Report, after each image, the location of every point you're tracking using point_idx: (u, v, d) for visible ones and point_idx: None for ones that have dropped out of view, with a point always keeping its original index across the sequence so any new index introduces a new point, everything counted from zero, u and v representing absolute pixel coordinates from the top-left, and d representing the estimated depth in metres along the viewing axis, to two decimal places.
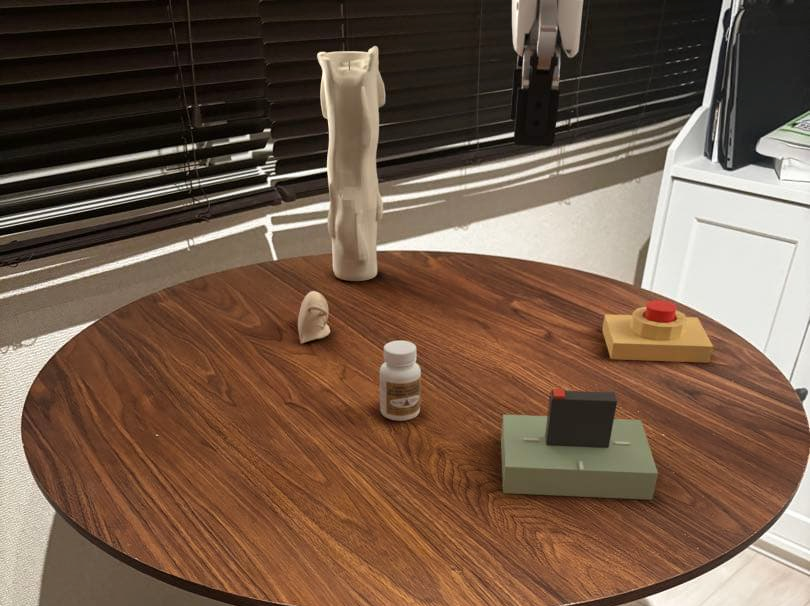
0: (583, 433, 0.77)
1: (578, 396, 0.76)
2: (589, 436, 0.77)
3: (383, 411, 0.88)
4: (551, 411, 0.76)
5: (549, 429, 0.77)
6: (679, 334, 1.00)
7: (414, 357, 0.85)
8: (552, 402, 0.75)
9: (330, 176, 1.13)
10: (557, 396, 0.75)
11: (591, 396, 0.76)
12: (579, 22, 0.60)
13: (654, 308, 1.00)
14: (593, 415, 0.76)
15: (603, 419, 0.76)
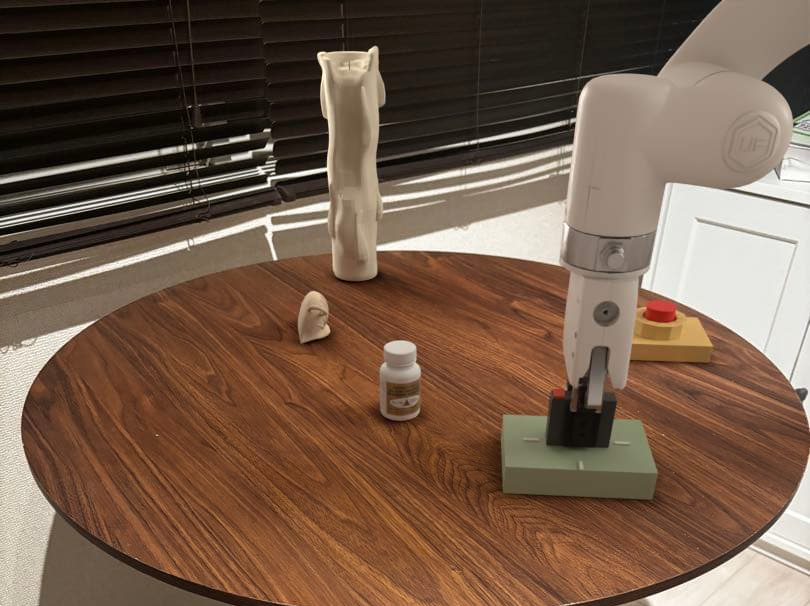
0: None
1: None
2: None
3: (383, 411, 0.88)
4: (551, 411, 0.76)
5: (549, 429, 0.77)
6: (679, 334, 1.00)
7: (414, 357, 0.85)
8: (552, 402, 0.75)
9: (330, 176, 1.13)
10: (557, 396, 0.75)
11: None
12: (627, 370, 0.69)
13: (654, 308, 1.00)
14: None
15: (603, 419, 0.76)
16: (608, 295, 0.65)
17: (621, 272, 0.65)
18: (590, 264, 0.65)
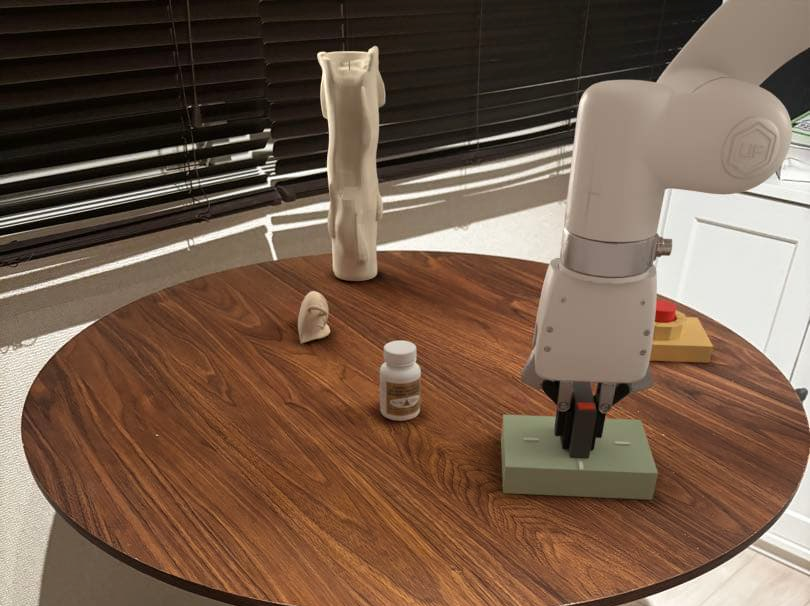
0: None
1: (586, 398, 0.75)
2: None
3: (383, 411, 0.88)
4: (594, 423, 0.74)
5: (591, 441, 0.75)
6: (679, 334, 1.00)
7: (414, 357, 0.85)
8: (595, 414, 0.74)
9: (330, 176, 1.13)
10: (594, 407, 0.74)
11: (583, 391, 0.76)
12: None
13: None
14: None
15: None
16: None
17: None
18: (649, 264, 0.66)
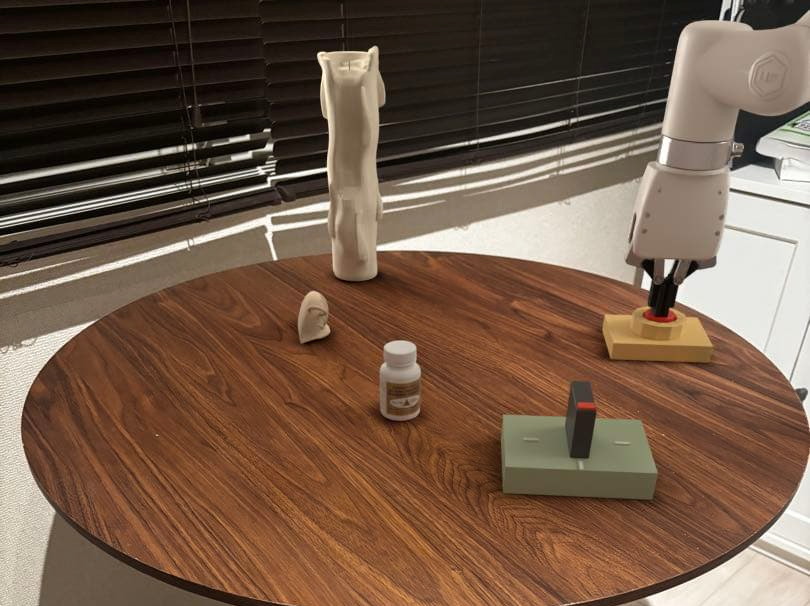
0: None
1: (586, 398, 0.75)
2: None
3: (383, 411, 0.88)
4: (594, 423, 0.74)
5: (591, 441, 0.75)
6: (679, 334, 1.00)
7: (414, 357, 0.85)
8: None
9: (330, 176, 1.13)
10: (594, 407, 0.74)
11: (583, 391, 0.76)
12: None
13: (653, 315, 1.00)
14: None
15: None
16: None
17: None
18: (726, 161, 0.88)
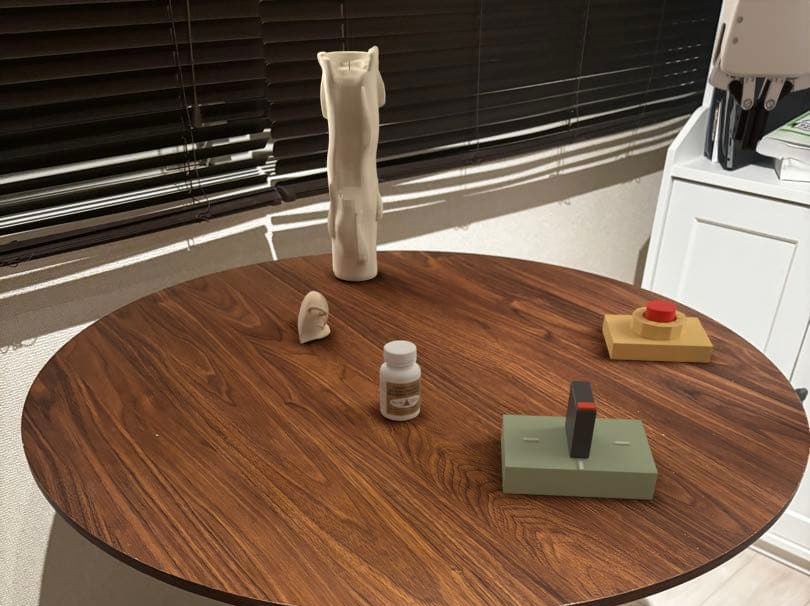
0: None
1: (586, 398, 0.75)
2: None
3: (383, 411, 0.88)
4: (594, 423, 0.74)
5: (591, 441, 0.75)
6: (679, 334, 1.00)
7: (414, 357, 0.85)
8: None
9: (330, 176, 1.13)
10: (594, 407, 0.74)
11: (583, 391, 0.76)
12: None
13: (654, 308, 1.00)
14: None
15: None
16: None
17: None
18: None
